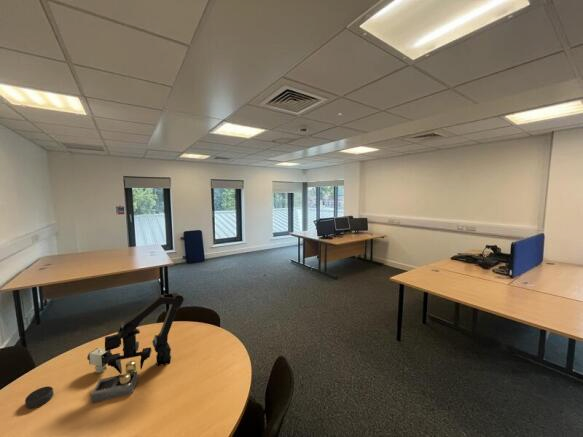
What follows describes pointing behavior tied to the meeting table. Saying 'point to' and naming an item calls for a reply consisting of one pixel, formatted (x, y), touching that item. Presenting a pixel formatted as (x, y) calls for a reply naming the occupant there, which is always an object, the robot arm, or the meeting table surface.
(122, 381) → the dull gold rounded cylinder
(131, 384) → the jig
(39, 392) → the smart speaker
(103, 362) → the pneumatic valve
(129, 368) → the brass domed cylinder
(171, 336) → the meeting table surface
